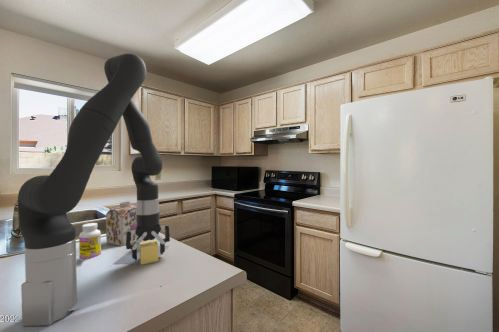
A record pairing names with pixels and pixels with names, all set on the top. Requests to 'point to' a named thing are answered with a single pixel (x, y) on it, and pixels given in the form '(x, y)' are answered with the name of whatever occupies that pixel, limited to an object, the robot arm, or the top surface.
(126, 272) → the top surface
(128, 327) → the top surface
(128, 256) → the plate
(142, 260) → the yellow cube
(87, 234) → the supplement bottle
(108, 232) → the decorative jar
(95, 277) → the top surface
